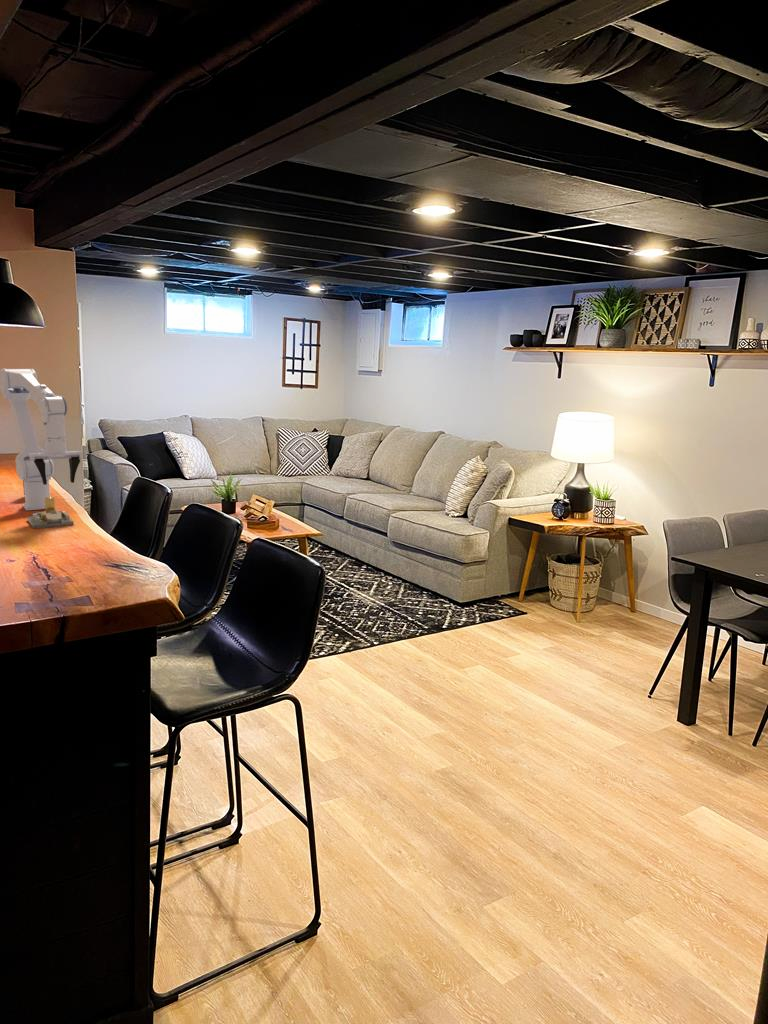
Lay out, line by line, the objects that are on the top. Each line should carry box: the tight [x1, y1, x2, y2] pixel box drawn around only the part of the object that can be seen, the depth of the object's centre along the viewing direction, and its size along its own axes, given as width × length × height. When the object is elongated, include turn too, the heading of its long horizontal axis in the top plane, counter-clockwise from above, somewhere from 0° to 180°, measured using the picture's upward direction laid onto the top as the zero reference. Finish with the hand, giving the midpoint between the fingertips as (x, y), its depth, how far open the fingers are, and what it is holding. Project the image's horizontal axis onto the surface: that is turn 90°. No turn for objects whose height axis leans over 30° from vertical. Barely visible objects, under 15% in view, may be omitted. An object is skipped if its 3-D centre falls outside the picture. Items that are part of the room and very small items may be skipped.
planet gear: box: [41, 496, 56, 520], centre depth 221 cm, size 5×5×6 cm
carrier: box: [26, 509, 74, 530], centre depth 219 cm, size 12×10×4 cm
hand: (58, 483), depth 228 cm, fingers open, 7 cm apart
